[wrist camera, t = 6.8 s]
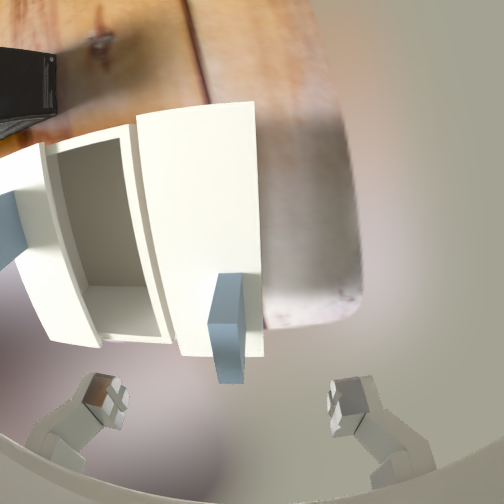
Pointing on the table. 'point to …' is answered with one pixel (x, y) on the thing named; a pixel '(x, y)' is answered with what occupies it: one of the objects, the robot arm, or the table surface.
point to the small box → (25, 89)
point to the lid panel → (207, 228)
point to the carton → (110, 233)
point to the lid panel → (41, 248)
